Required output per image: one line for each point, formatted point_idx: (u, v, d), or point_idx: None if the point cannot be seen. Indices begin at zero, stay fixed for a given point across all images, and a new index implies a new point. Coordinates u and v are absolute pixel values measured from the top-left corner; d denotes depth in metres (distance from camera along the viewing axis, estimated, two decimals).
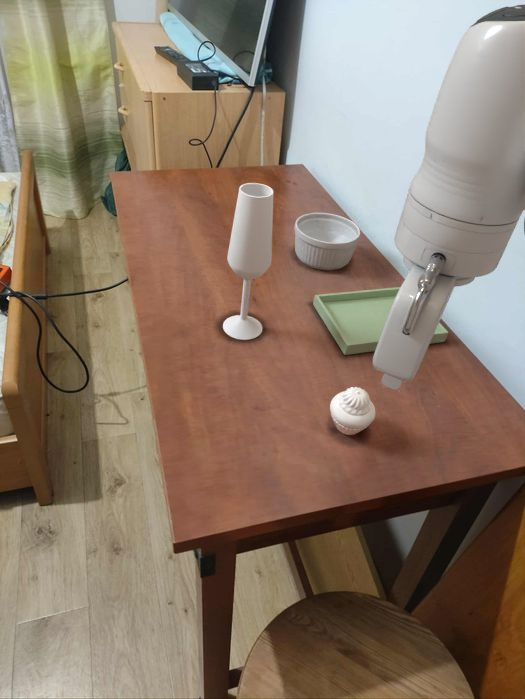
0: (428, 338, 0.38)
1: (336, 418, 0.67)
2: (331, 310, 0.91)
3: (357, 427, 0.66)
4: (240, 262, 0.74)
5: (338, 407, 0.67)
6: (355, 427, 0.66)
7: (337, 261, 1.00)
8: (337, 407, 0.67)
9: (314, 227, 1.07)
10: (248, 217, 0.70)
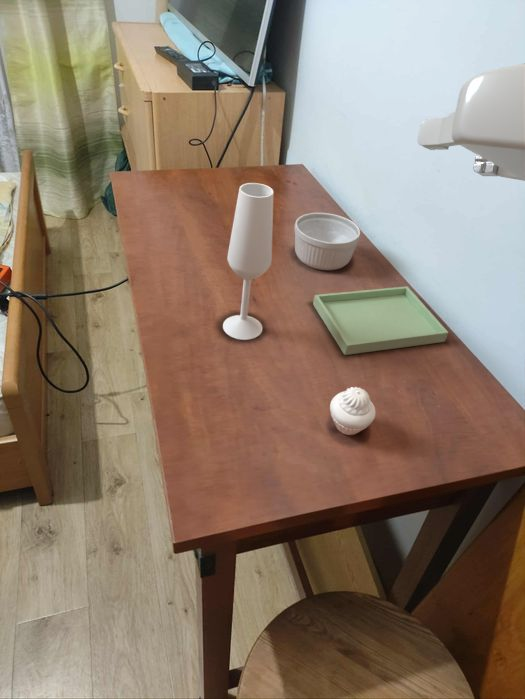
0: None
1: (336, 418, 0.67)
2: (331, 310, 0.91)
3: (357, 427, 0.66)
4: (240, 262, 0.74)
5: (338, 407, 0.67)
6: (355, 427, 0.66)
7: (337, 261, 1.00)
8: (337, 407, 0.67)
9: (314, 227, 1.07)
10: (248, 217, 0.70)
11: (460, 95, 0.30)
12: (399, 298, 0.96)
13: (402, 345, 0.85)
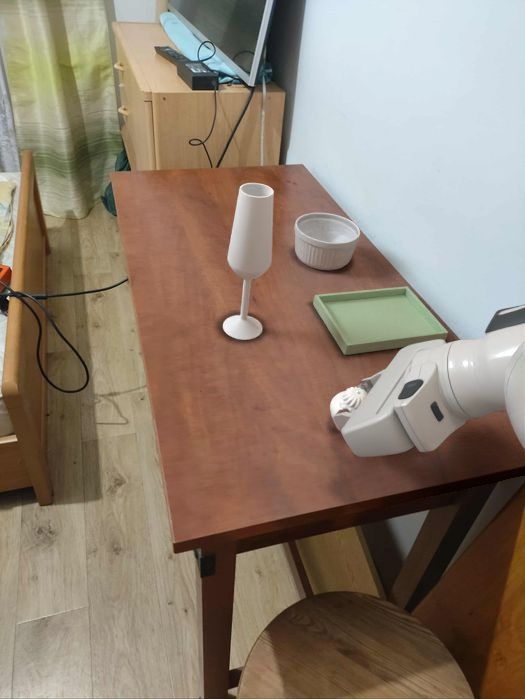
0: (431, 340, 0.67)
1: None
2: (331, 310, 0.91)
3: None
4: (240, 262, 0.74)
5: (338, 407, 0.67)
6: None
7: (337, 261, 1.00)
8: (337, 407, 0.67)
9: (314, 227, 1.07)
10: (248, 217, 0.70)
11: None
12: (399, 298, 0.96)
13: (402, 345, 0.85)
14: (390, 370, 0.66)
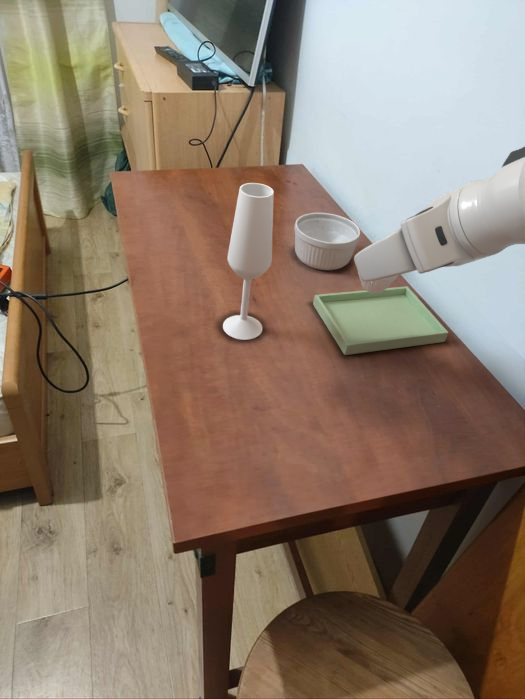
0: None
1: None
2: (331, 310, 0.91)
3: None
4: (240, 262, 0.74)
5: None
6: None
7: (337, 261, 1.00)
8: None
9: (314, 227, 1.07)
10: (248, 217, 0.70)
11: (355, 263, 0.64)
12: (399, 298, 0.96)
13: (402, 345, 0.85)
14: None
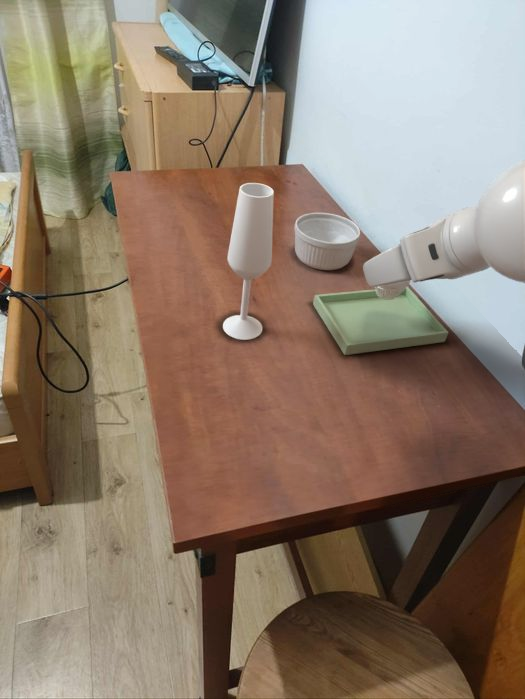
0: None
1: None
2: (331, 310, 0.91)
3: (388, 287, 0.82)
4: (240, 262, 0.74)
5: None
6: (386, 286, 0.82)
7: (337, 261, 1.00)
8: None
9: (314, 227, 1.07)
10: (248, 217, 0.70)
11: None
12: (399, 298, 0.96)
13: (402, 345, 0.85)
14: None
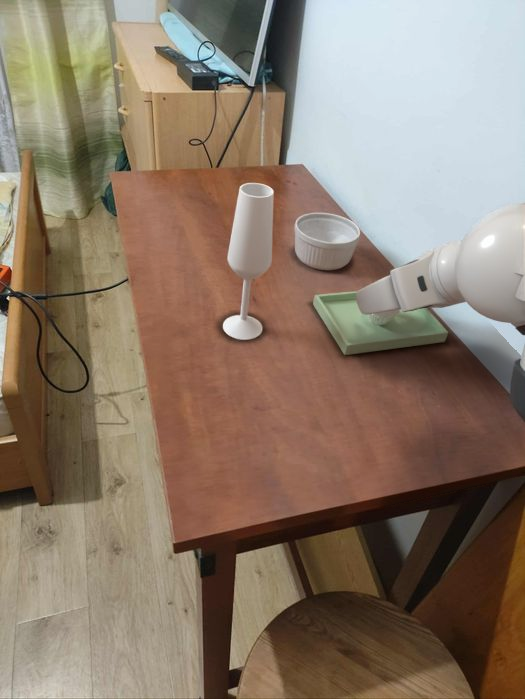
0: None
1: None
2: (331, 310, 0.91)
3: (379, 314, 0.86)
4: (240, 262, 0.74)
5: None
6: (378, 313, 0.86)
7: (337, 261, 1.00)
8: None
9: (314, 227, 1.07)
10: (248, 217, 0.70)
11: (356, 298, 0.79)
12: None
13: (402, 345, 0.85)
14: None
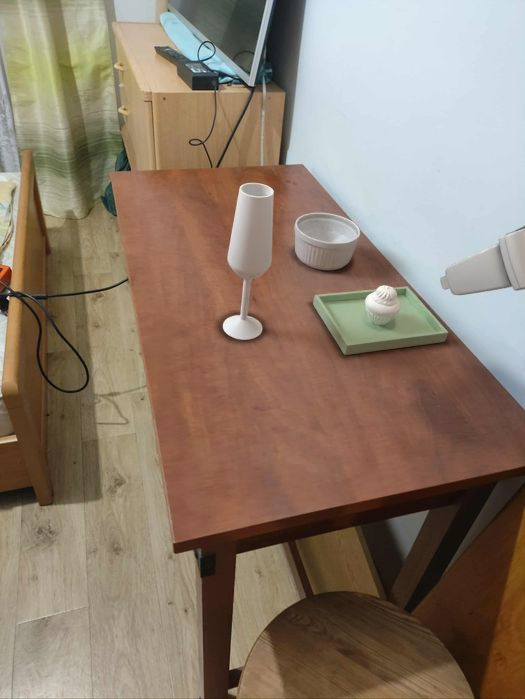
0: None
1: (366, 304, 0.87)
2: (331, 310, 0.91)
3: (379, 314, 0.86)
4: (240, 262, 0.74)
5: (370, 297, 0.87)
6: (378, 313, 0.86)
7: (337, 261, 1.00)
8: (369, 297, 0.87)
9: (314, 227, 1.07)
10: (248, 217, 0.70)
11: (446, 276, 0.63)
12: (399, 298, 0.96)
13: (402, 345, 0.85)
14: None
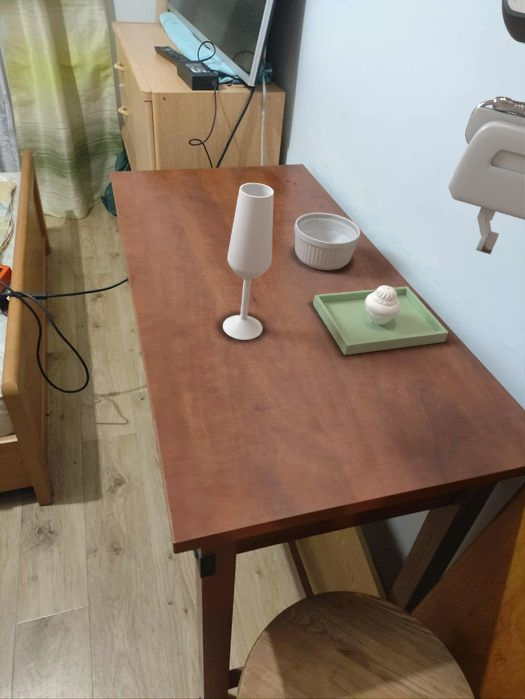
0: (468, 148, 0.46)
1: (366, 304, 0.87)
2: (331, 310, 0.91)
3: (379, 314, 0.86)
4: (240, 262, 0.74)
5: (370, 297, 0.87)
6: (378, 313, 0.86)
7: (337, 261, 1.00)
8: (369, 297, 0.87)
9: (314, 227, 1.07)
10: (248, 217, 0.70)
11: None
12: (399, 298, 0.96)
13: (402, 345, 0.85)
14: None
